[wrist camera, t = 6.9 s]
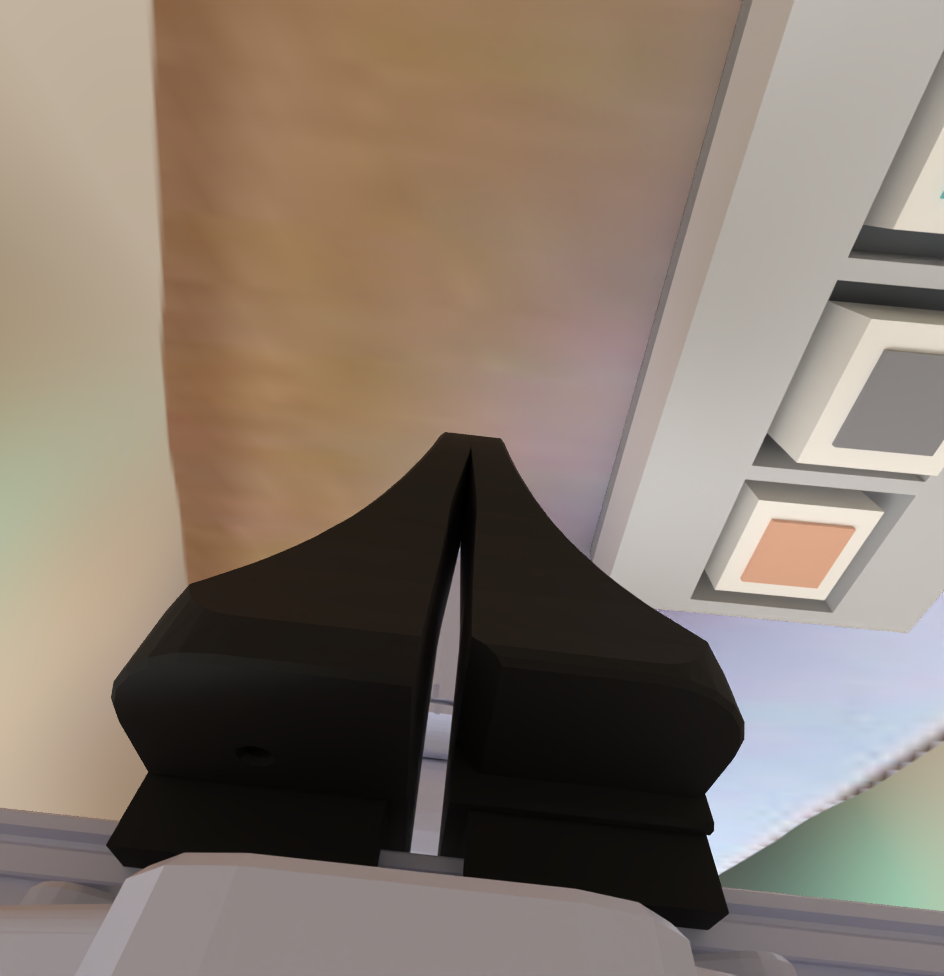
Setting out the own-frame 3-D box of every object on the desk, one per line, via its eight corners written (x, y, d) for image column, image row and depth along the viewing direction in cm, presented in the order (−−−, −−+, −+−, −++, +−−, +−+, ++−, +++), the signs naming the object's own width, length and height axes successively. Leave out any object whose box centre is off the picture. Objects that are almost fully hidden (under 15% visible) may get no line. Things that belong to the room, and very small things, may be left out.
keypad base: (859, 577, 25) (907, 632, 22) (589, 551, 25) (601, 603, 22) (1287, -24, 13) (1525, -83, 10) (762, -70, 13) (839, -141, 10)
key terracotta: (796, 563, 23) (827, 603, 21) (696, 553, 23) (716, 593, 21) (847, 478, 20) (888, 515, 18) (734, 467, 20) (761, 503, 18)
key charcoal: (890, 443, 18) (941, 479, 16) (765, 431, 18) (799, 465, 16) (972, 313, 16) (1046, 336, 14) (825, 299, 16) (875, 320, 14)
